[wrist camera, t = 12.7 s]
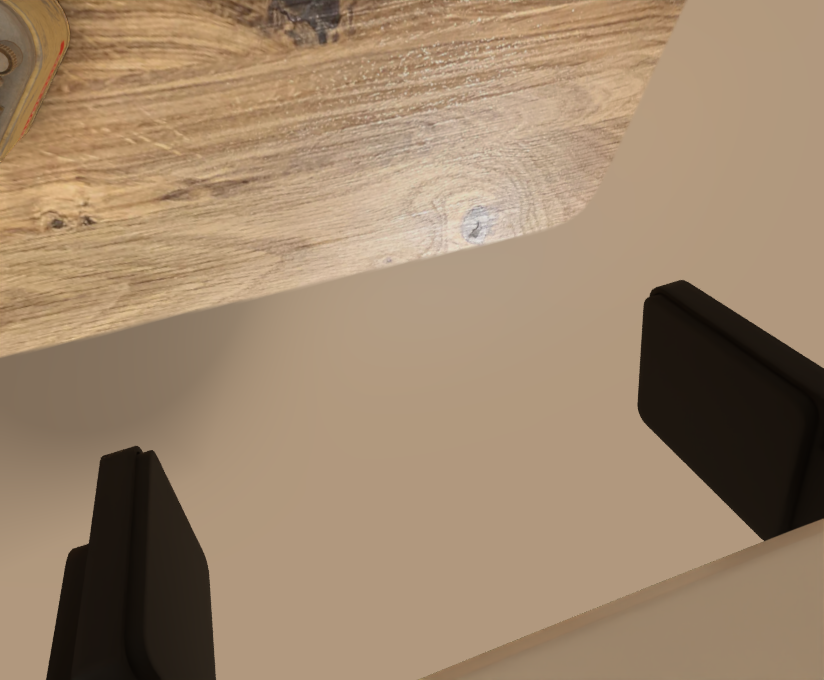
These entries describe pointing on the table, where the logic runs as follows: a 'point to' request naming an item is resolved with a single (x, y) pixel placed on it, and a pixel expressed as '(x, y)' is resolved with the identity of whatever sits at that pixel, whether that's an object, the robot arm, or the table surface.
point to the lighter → (27, 62)
